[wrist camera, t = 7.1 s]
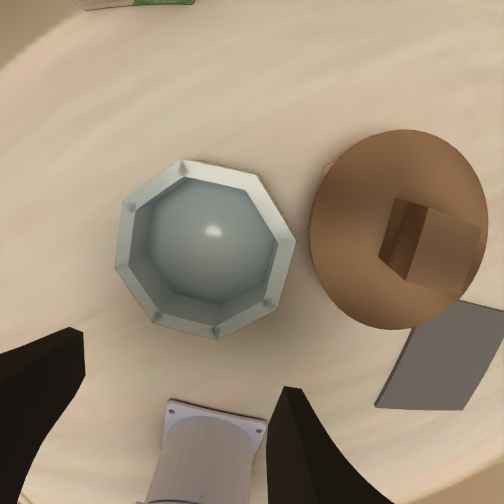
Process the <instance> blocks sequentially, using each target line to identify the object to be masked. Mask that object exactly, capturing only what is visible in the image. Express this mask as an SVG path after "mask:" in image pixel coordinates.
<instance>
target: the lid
mask: <svg viewBox="0 0 504 504" xmlns="http://www.w3.org/2000/svg"><path fill="white" fill-rule="evenodd" d="M487 237H488V210H487V204H486V199H485V195H484V192H483V189H482V186H481V184H480V181H479V179H478V177H477V175H476V173H475V171H474V170H473V168H472V166H471V165H470V164H469V162H468V161H467V160H466V159H465V157H464V156H463V155H462V154H461V153H460V152H459V151H458V150H457V149H456V148H454V147H453V146H452V145H450V144H449V143H448V142H446V141H444V140H442V139H441V138H439V137H437V136H434V135H432V134H429V133H426V132H421V131H416V130H394V131H388V132H384V133H380V134H377V135H373V136H371V137H368V138H366V139H364V140H362V141H360V142H358V143H357V144H355V145H354V146H352V147H351V148H349V149H348V150H347V151H346V152H345V153H344V154H342V155H341V156H340V157H339V158H338V159H337V161H336V162H335V163H334V164H333V165H332V166H331V168H330V169H329V171H328V172H327V174H326V175H325V177H324V178H323V180H322V182H321V184H320V186H319V188H318V190H317V193H316V196H315V199H314V202H313V205H312V210H311V215H310V221H309V247H310V252H311V258H312V262H313V265H314V268H315V271H316V273H317V275H318V278H319V280H320V282H321V284H322V286H323V288H324V290H325V291H326V293H327V294H328V296H329V297H330V299H331V300H332V301H333V302H334V303H335V304H336V305H337V307H338V308H339V309H341V310H342V311H343V312H344V313H345V314H347V315H348V316H349V317H351V318H353V319H354V320H356V321H358V322H360V323H362V324H365V325H367V326H370V327H374V328H378V329H386V330H401V329H407V328H412V327H415V326H419V325H422V324H424V323H426V322H429V321H431V320H433V319H435V318H436V317H438V316H440V315H441V314H443V313H444V312H445V311H447V310H448V309H449V308H450V307H452V306H453V305H454V304H455V303H456V302H457V301H458V300H459V299H460V297H461V296H462V295H463V294H464V293H465V291H466V290H467V289H468V287H469V286H470V284H471V283H472V281H473V279H474V277H475V275H476V274H477V272H478V269H479V267H480V264H481V262H482V259H483V256H484V252H485V248H486V243H487Z"/></svg>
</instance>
